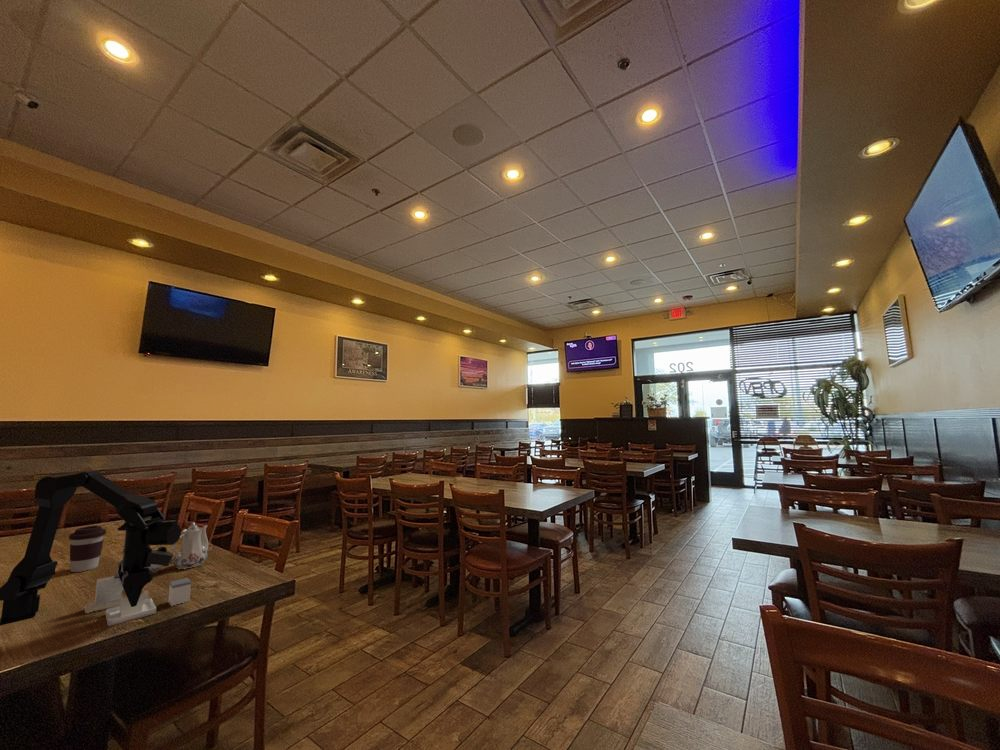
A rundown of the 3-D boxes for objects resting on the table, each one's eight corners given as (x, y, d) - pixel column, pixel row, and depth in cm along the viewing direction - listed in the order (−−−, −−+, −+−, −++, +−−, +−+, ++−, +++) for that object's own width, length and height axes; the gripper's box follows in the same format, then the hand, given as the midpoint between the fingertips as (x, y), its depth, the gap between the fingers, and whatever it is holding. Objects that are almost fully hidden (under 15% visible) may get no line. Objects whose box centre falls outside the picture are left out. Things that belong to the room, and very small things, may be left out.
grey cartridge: (170, 606, 121) (172, 585, 122) (168, 602, 124) (170, 581, 125) (189, 601, 125) (191, 581, 125) (186, 597, 128) (188, 577, 128)
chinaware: (194, 557, 171) (193, 516, 173) (231, 553, 169) (230, 512, 171) (128, 583, 143) (128, 534, 145) (172, 579, 142) (172, 530, 144)
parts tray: (108, 626, 109) (108, 620, 110) (105, 614, 116) (106, 609, 116) (156, 613, 117) (156, 608, 117) (151, 603, 124) (151, 598, 124)
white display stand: (85, 613, 117) (88, 581, 118) (84, 609, 120) (87, 577, 121) (148, 598, 127) (151, 568, 128) (146, 594, 130) (149, 565, 131)
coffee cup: (56, 574, 147) (61, 531, 149) (83, 564, 157) (87, 524, 159) (84, 573, 147) (89, 531, 149) (110, 564, 157) (114, 524, 159)
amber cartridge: (120, 617, 113) (122, 595, 114) (119, 612, 116) (121, 590, 117) (141, 612, 117) (143, 590, 117) (140, 607, 120) (142, 585, 120)
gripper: (178, 545, 118) (173, 602, 116) (167, 533, 131) (162, 584, 129) (126, 554, 110) (120, 615, 108) (119, 541, 123) (114, 595, 121)
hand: (131, 601), depth 117 cm, fingers open, 9 cm apart
